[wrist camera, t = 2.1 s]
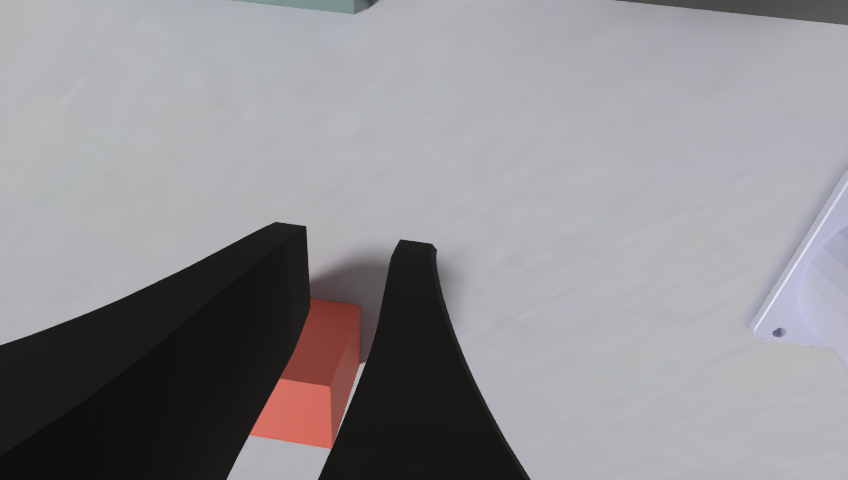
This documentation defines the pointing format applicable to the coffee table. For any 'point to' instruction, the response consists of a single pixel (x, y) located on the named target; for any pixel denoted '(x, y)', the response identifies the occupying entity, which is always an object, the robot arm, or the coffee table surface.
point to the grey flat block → (769, 8)
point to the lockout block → (315, 378)
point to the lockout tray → (320, 4)
